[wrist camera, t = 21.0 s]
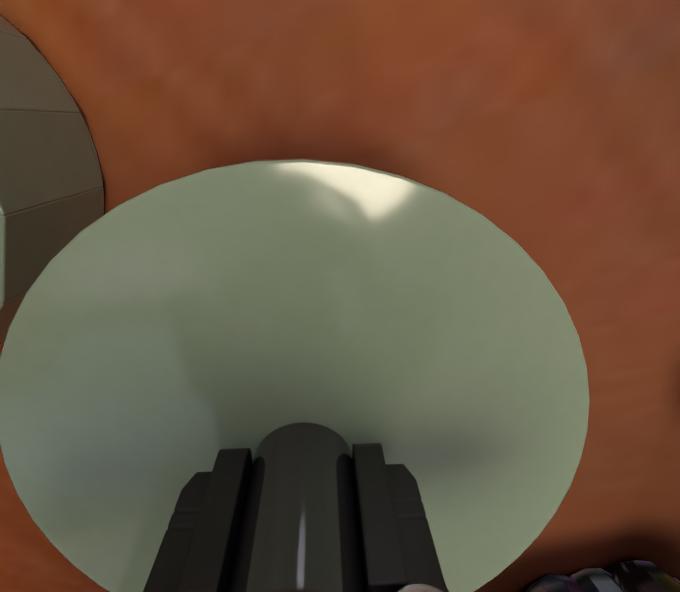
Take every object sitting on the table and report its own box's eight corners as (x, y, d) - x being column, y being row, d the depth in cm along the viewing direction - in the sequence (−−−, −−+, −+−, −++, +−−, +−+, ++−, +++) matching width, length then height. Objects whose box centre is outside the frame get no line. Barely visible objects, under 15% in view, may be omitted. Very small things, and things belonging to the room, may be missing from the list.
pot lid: (340, 660, 16) (351, 933, 11) (-70, 474, 12) (-393, 761, 7) (673, 393, 12) (958, 605, 7) (235, -12, 8) (68, -294, 3)
